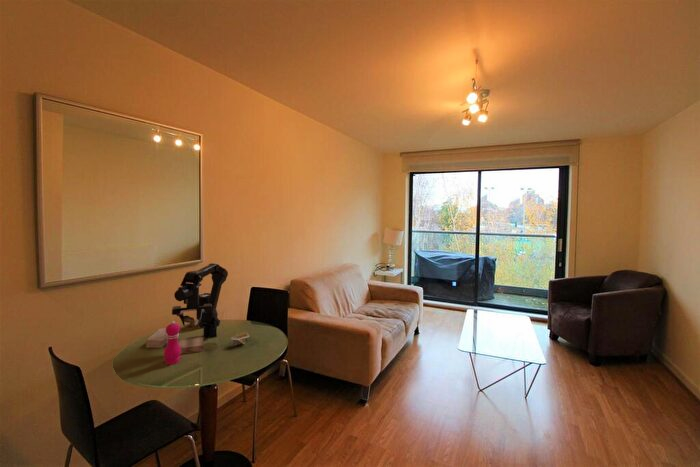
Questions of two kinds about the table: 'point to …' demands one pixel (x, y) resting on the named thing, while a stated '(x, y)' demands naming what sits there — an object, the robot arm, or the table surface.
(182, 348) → the plinth
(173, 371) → the table surface
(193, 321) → the eagle figurine
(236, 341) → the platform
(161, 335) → the brick
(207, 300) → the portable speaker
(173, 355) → the pepper mill
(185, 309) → the robot arm
